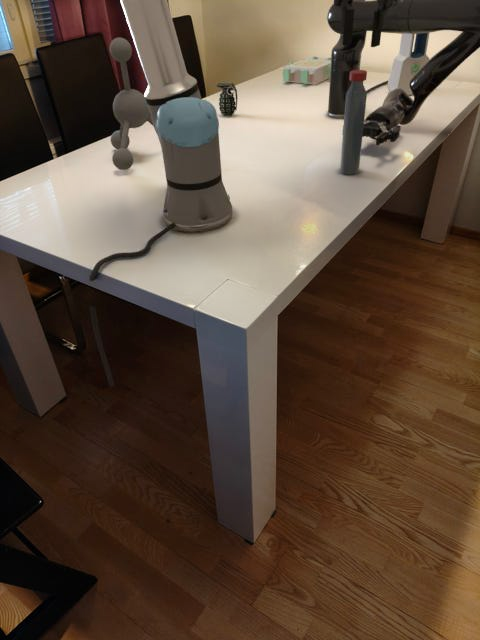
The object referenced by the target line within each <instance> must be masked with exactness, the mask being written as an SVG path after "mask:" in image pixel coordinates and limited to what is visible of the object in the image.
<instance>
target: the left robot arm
mask: <svg viewBox="0 0 480 640" xmlns="http://www.w3.org/2000/svg"><path fill="white" fill-rule="evenodd" d="M352 2H353V0H333V4H334V5H335V6H338V7H340V8H341V10H342V14H341V27H344V32H343V45H348V44H351V43H352V32H353V20H354V9H350V8H352V7H353V6H352ZM377 3H378V9H377V11H374V20H373V29H372V31H371V39H370V40H371V41H370V48H375V47H379V46H381V39H382V38H381V37H382V32H381V30H382V28H385V26H386V19H387V11H388V9H389V8H391V7H394V6H396V5H397V3H398V0H377ZM120 4H121V7H122V10H123V13H124V15H125V18H126V19H125V20H126V23H127V25H128V27H129V31H130V35H131V37H132V39H133V43H134V46H135V49H136V52H137V55H138V58H139V62H140V66H141V67H142V71H143V73H144V77H145V80H146V82H147V88H146V90H145V92H144V94H143V95H144V96H145V99H146V102H147V105H148V108H149V111H150V113H149V115H150V116H151V117H152V122H153V125H152V127H153V128H154V129H153V130H154V131H155V134H156V135H157V138H158V141H159V144H160V148H161V153H162V159H163V168H164V173H165V180H166V190H165V191H166V192H165V196H164V203H163V207H162V218H163V222H164V224H165V228H163V229H161V231H159V232H157V233H156V234H155V235H154V236H152V237H151V238H150V239H149V240H148V241H147V242H146V244H145V247H144V248H143V249H140V250H138V251H132V252H118V253H117V252H116V253H112V254H111V255H108V256H105V257H103V258H101V259H100V260H98V261H97V262H96V264H95V265H94V267H93V269H92V270H91V273H90V276H89V279H88V281H89V282H94V281H95V280H96V278H97V274H98V272H99V271H100V269H101V267H103V266H104V265H105V264H107V263H109V262H111V261H113V260H117V259H125V258H126V259H127V258H138V257H141V256H143V255H145V254H147V253H148V252H149V251H150V249H151V248H152V245H153V244H154V243H155V242H156V241H157V240H159V239H160V238H162V237H163V236H165V235H166V234H167V233H168V232H170V231H171V230H173V231H177V232H180V233H190V234H191V233H192V234H193V233H194V234H195V233H196V234H197V233H205V232H206V233H207V232H210V231H215V230H216V229H220V228H222V227H224V226H226V225H227V224H228V223H230V221H231V220H232V218H233V216H234V212H233V211H234V210H233V205H232V201H231V196H230V194H229V193H228V192H227V190H226V187H225V184H224V182H223V175H222V174H223V173H222V164H221V163H222V161H221V147H220V146H221V145H220V134H219V128H220V122H219V118H218V114H217V109H216V108H215V105H213V103H211V102H210V101H208V100H207V99H206V100H205V99H202V96H201V92H200V88H199V85H198V80H197V79H196V78H195V77H194V76H192V75H191V74H189V73H188V71H187V68H186V64H185V60H184V57H183V54H182V50H181V47H180V43H179V39H178V35H177V31H176V28H175V24H174V21H173V17H172V14H171V13H172V12H171V10H170V6H169V2H168V0H120ZM89 309H90V310H89V311H90V316H91V318H90V319H91V324H92V330H93V333H94V339H95V341H96V345H97V348H98V352H99V355H100V358H101V361H102V364H103V368H104V371H105V374H106V377H107V381H108V385H109V387H114V386H115V382H114V378H113V374H112V371H111V368H110V365H109V361H108V359H107V354H106V352H105V349H104V345H103V341H102V337H101V333H100V328H99V323H98V317H97V309H96V306H93V305H91V304H90V305H89Z"/></svg>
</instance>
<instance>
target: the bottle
mask: <svg viewBox="0 0 480 640" xmlns="http://www.w3.org/2000/svg"><path fill="white" fill-rule="evenodd" d="M366 91H367V89H366V87H365V85H364V81H352V84H351V86H350V88H349V90H348V91H347V94H346V101H345V114H344V118H343V125H344V126H343V125H342V134H343V135H342V138H341V139H342V141H341V153H340V165H339V166H340V167H339V173H341V174H342V175H346V176H353V175H357V174H358V173H359V171H360V164H361V155H362V144H363V137H362V136H363V126H364V121H365V116H366V106H367V97H368V96H367V94H368V93H367V92H366Z"/></svg>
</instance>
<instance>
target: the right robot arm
mask: <svg viewBox="0 0 480 640" xmlns="http://www.w3.org/2000/svg"><path fill="white" fill-rule="evenodd" d="M352 6H353V7H352V8H350V9H354V20H353V32H352V43H351V44H348V45H343V32H344V27H341V14H342V10H341V8H340V7H338V6H335V5H334V3H333V4H332V5H331V6H330V7H329V9H328V13H327V17H326V20H327V24H328V26H329V28H330V29H331V30H332V31H333V32H334V33H336V34H339V37H338V40H337V42H336V43H335V45H333V47H332V49H331V54H330V56H331V57H330V58H331V71H330V78H329V87H328V88H329V90H328V106H327V116H328V117H330V118H333V119H344V114H345V101H346V94H347V91H348V90H349V88H350V86H351V84H352V81H351V80H349V77H350V71H353V70H361V61H362V54H363V53H362V52H363V50H364V48H365V45H366V39H367V32H372V29H373V20H374V11H377V9H378V3H377V0H353V2H352ZM441 31H442V32H443V31H454V32H461V33H460V34H458V35H457V36H456V37H455V38H454V39H453V40H452V41H451V42H450V43H448V44H447V45H445V46H444V47H442V49H440V50H439V51H437V53H435V54H434V55H433V56H431V57H430V58H429V61H428V62H427V63H426V64H425V65H424V66H423V67H422V68H421V69H420V70H419V71H418V72H417V73H416V74H415V75H414V76H413V77H412V79H411V80H410V82H409V86H410V89H411V91H412V93H413V94H412V95H413V98H412V97H411V95H408V94H407V93H406V92H405V91H404V90H403V89H400V88H397V89H394V90H392V91H391V92H390V91H389V93H388V94H387V95H386V96H385V98H384V101H383V103H382V105H381V106H379V107H377V108H376V109H375V110H373V111H372V112H371V113H369V114H368V115H367V117H366V118H364V126H363V136H362V138H364V137H365V138H370V139H371V140H374V141H375V145H376V146H380V145H382V144H384V143H386V142H388V141H389V142H390V143H395V142H396V141H397V140H398V138H399V137H400V136H401V135H400V134H401V127H402V126H405V125H408V124H410V123H411V122H412V121H414V119H415V118H416V116H417V115H418V113H419V111H420V110H421V108H422V107H423V104H424V103H425V102H426V100H427V99H428V97H430V95H431V94H433V92H435V90H436V89H437V88H438V87H439V86H440V85H442V83H443V82H444V81H446V80H447V78H448V77H449V76H450V75H451V74H452V73H453V72H455V70H456V69H458V68H459V66H460V65H461V64H463V63H464V62H465V61H466V60H467V59H468V58H470V56H471V55H473V54H474V53H475V52H476V51H478V50H479V49H480V0H398V3H397V5H396V6H394V7H391V8H389V9H388V11H387V19H386V26H385V28H382V30H381V33H383V34H399V35H400V34H401V35H402V34H415V35H416V34H422V33H429V34H431V33H435V32H441ZM388 81H389V79H387V80H386V81H383V82H381V83H379V84H376V85H374V86H371V87H370V88H369V89H366V92H367V93H366V94H368V93H369V92H371V91H373V90H375V89H376V88H379V87H382V86H384V85H386V84H388ZM343 126H344V124H343V125H342V127H343ZM341 135H342V136H343V133H342V134H341Z"/></svg>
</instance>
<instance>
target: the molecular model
mask: <svg viewBox="0 0 480 640" xmlns="http://www.w3.org/2000/svg"><path fill="white" fill-rule="evenodd" d="M109 53H110V55H111V57H112V59H113V60H115V61H116V62H118V63H120V70H121V76H122V81H123V86H124V89H123V90H121V91H119V92H118V93H117V94H116V95H115V97H114V99H113V102H112V112H113V115H114V117H115V119H116V121H117V122H118V123H120V127H119V129H118V130H115V131H114V132H113V133H111V136H110V144H111V145H112V147H113V148H114V149H115V151H114V152H113V153H112V156H111V160H112V163H113V165H114V167H115V168H117V169H118V170H121V171H128V170H129V169H131V167H132V166H133V164H134V156H133V153H131V151H130V150H128V147H129V146H130V141H131V140H130V136H129V133H130V129H138V128H141V127H142V126H144V125H145V123H147V122H148V123H149V124H150V125H151V126H153V122H152V117H151V114H150V111H149V108H148V105H147V102H146V99H145V96H144V94H143V93H142V92H140V91H139V90H137V89H134V88H131V83H130V77H129V72H128V65H127V62H128V61H129V60H130V59H131V57H132V54H133V49H132V45H131V44H130V42H129V41H128V40H127V39H126V38H123V37H116V38H114V39H112V40H111V42H110V44H109Z"/></svg>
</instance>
